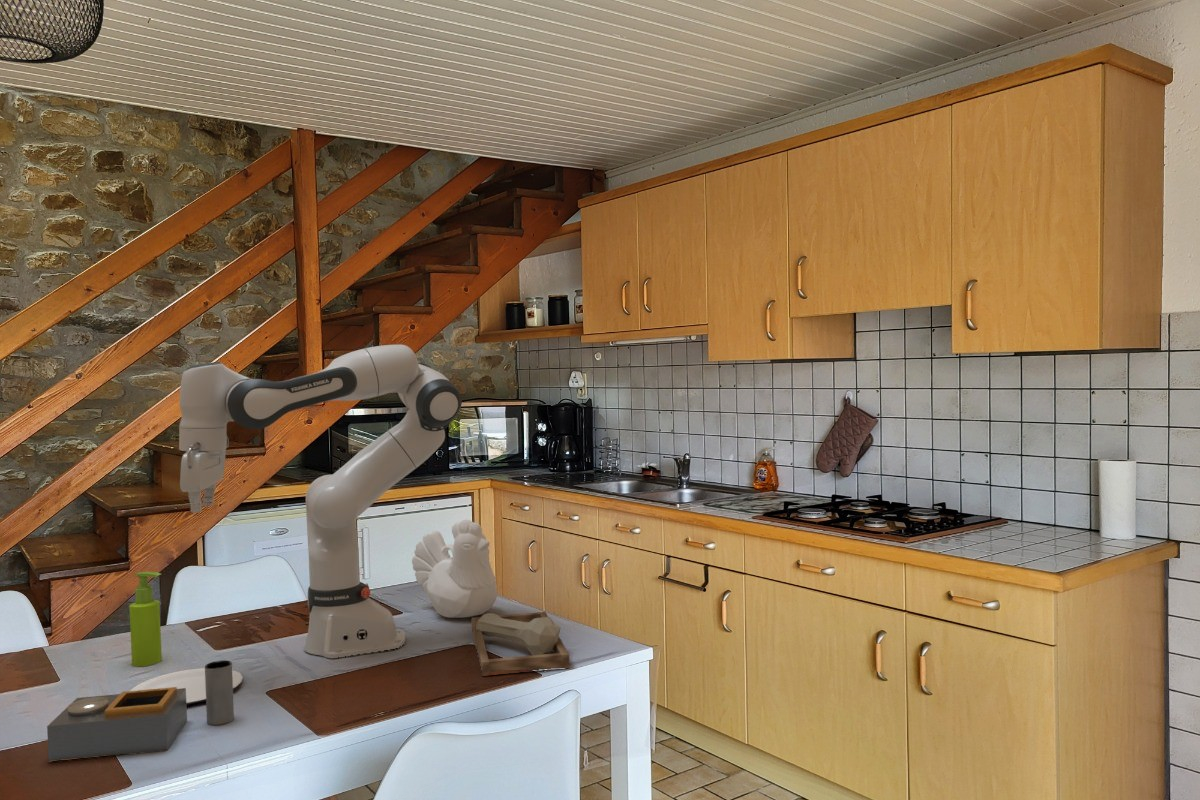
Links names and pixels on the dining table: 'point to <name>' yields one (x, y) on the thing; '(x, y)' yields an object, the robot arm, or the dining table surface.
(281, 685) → the dining table surface
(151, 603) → the soap dispenser
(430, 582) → the decorative rooster
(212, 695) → the grey cylinder
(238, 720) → the dining table surface
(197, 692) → the plate
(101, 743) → the grey box with knob
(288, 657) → the dining table surface
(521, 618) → the candle surround
